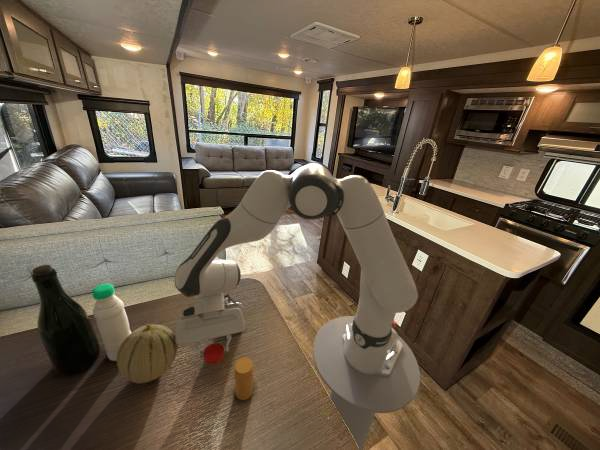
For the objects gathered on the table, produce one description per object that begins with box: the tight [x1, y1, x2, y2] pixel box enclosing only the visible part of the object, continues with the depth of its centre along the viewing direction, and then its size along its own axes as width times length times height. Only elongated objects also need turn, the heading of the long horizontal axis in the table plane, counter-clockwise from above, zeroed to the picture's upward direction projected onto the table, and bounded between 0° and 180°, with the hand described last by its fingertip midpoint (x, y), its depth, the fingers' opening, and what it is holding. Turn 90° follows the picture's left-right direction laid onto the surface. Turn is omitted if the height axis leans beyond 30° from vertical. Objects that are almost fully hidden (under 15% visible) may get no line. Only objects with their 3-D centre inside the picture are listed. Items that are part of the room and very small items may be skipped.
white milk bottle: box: [91, 283, 132, 362], centre depth 72 cm, size 7×7×25 cm
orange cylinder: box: [233, 356, 254, 401], centre depth 67 cm, size 5×5×11 cm
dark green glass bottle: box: [31, 264, 102, 377], centre depth 67 cm, size 10×10×33 cm
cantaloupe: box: [116, 323, 179, 384], centre depth 70 cm, size 15×15×15 cm
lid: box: [202, 342, 225, 365], centre depth 74 cm, size 6×6×2 cm
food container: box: [223, 292, 245, 317], centre depth 88 cm, size 12×6×10 cm, turn 42°
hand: (213, 354), depth 74 cm, fingers closed on lid, 6 cm apart
